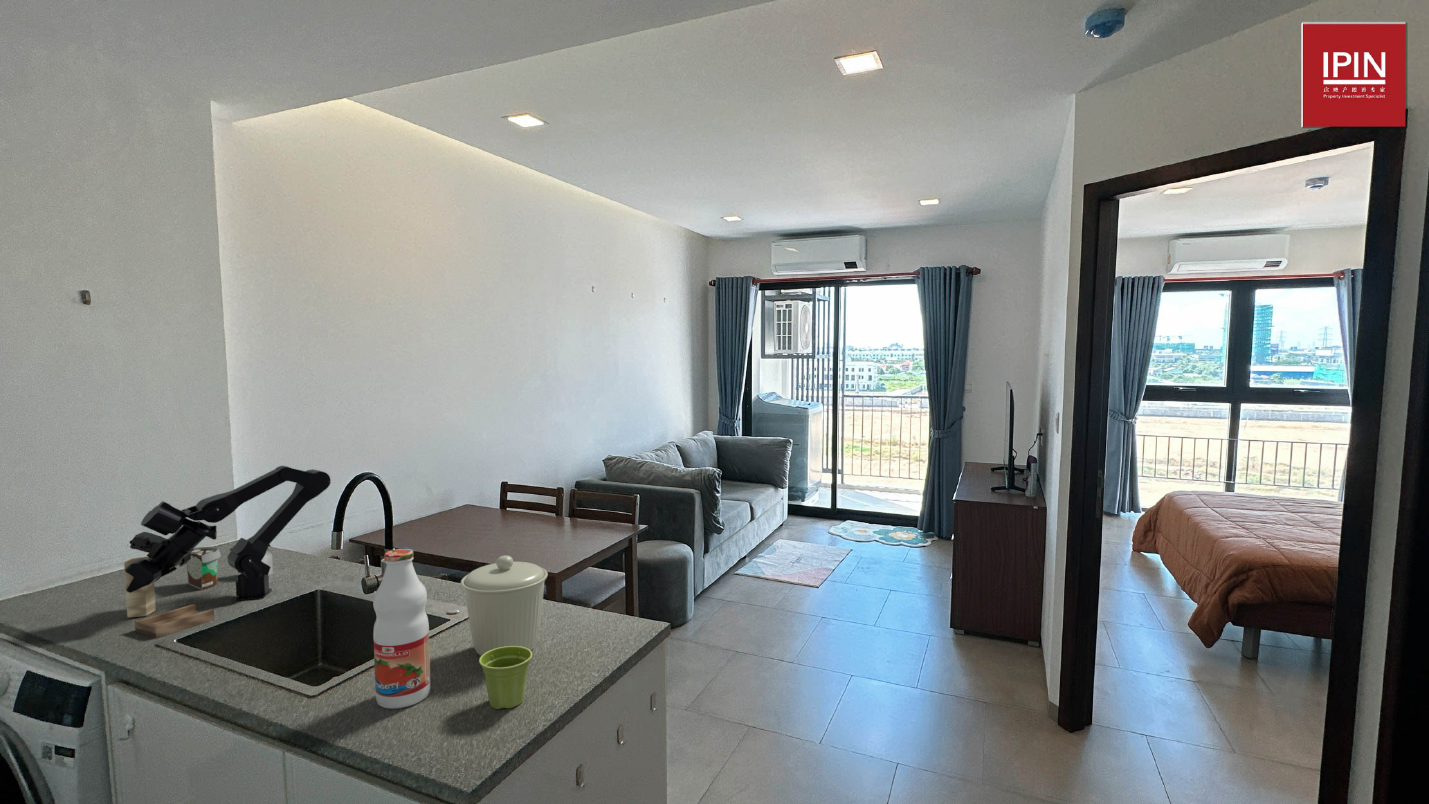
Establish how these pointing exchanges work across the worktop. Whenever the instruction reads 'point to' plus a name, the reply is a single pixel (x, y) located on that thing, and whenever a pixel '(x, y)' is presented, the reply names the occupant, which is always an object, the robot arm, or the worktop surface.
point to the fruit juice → (401, 634)
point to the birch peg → (139, 595)
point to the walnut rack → (173, 621)
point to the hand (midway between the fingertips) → (133, 588)
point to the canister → (504, 604)
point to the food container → (203, 567)
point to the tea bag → (268, 561)
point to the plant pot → (506, 675)
